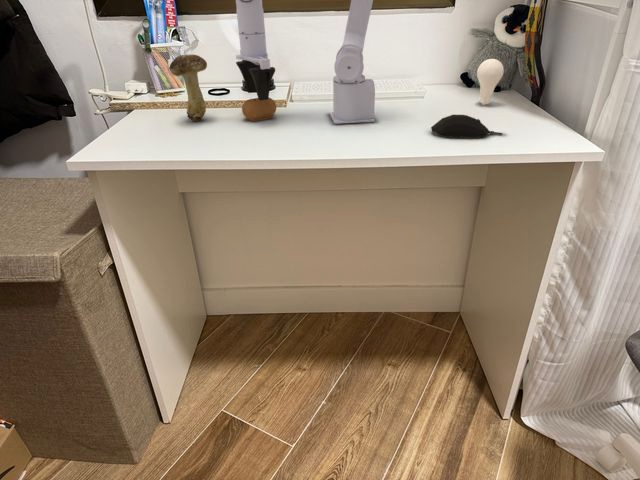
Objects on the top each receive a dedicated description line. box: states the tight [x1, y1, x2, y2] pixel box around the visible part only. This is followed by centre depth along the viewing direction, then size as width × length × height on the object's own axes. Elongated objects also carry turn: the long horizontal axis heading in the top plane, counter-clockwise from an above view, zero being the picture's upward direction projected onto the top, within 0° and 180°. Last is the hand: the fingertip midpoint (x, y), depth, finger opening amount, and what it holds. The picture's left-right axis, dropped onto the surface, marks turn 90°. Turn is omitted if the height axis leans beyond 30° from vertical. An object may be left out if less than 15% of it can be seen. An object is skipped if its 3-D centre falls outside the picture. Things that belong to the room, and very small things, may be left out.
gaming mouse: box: [430, 114, 503, 139], centre depth 93 cm, size 6×15×4 cm, turn 83°
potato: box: [241, 96, 277, 122], centre depth 105 cm, size 8×5×5 cm, turn 117°
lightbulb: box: [476, 58, 505, 106], centre depth 109 cm, size 6×6×11 cm
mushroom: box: [168, 53, 208, 122], centre depth 102 cm, size 9×9×15 cm
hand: (257, 95), depth 103 cm, fingers open, 7 cm apart
